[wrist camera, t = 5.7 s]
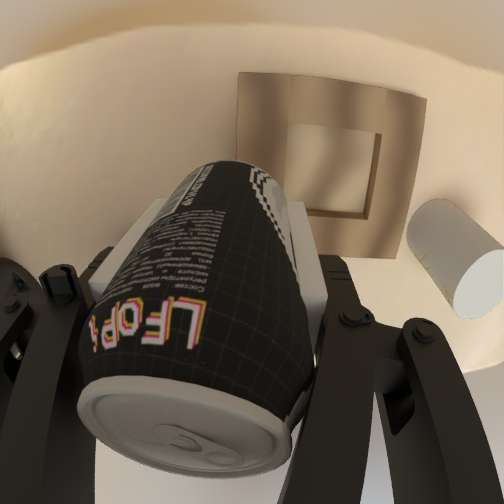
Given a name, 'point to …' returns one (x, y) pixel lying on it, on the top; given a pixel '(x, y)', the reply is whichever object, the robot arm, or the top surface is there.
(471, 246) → the cup
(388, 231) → the socket block
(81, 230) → the top surface
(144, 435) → the beverage can
